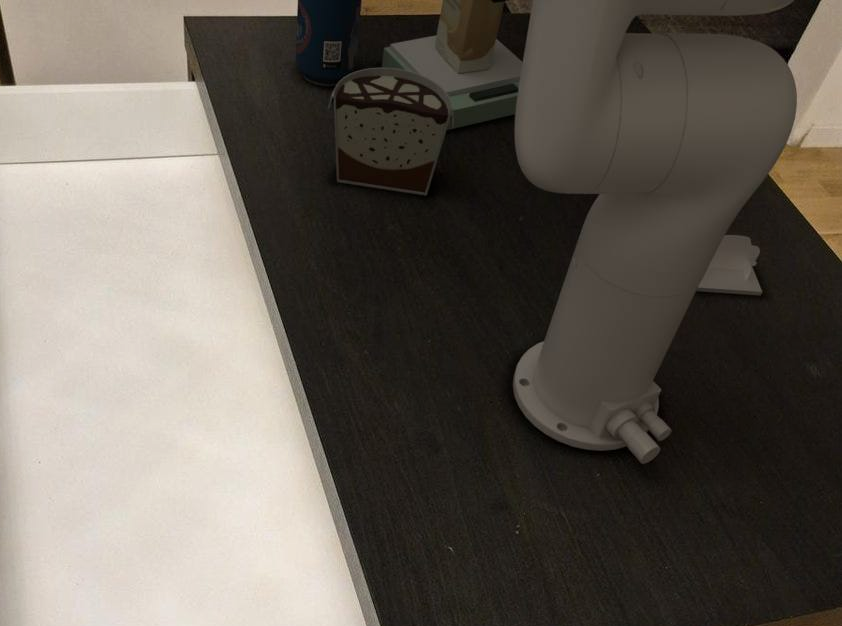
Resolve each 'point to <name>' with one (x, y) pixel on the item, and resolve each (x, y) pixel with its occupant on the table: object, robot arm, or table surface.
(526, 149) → the robot arm
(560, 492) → the table surface
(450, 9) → the cosmetic box
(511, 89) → the scale
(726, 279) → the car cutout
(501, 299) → the table surface
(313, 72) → the soda can
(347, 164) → the food container
